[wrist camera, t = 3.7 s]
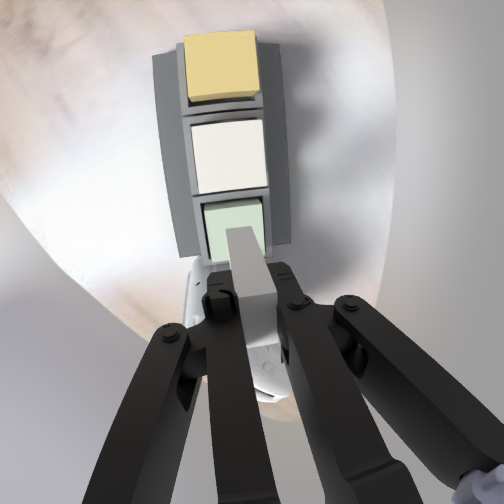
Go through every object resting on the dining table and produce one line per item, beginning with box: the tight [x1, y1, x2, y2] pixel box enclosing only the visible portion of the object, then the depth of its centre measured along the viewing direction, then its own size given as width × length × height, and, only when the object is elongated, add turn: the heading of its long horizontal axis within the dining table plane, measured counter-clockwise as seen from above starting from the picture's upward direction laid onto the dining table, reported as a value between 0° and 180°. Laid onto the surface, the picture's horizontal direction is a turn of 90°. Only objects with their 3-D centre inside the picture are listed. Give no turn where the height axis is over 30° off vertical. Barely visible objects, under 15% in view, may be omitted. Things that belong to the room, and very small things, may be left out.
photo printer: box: [182, 255, 292, 402], centre depth 22 cm, size 10×4×12 cm, turn 38°
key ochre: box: [184, 30, 260, 102], centre depth 14 cm, size 4×4×3 cm
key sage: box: [204, 196, 265, 262], centre depth 21 cm, size 4×4×3 cm
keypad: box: [152, 37, 291, 266], centre depth 20 cm, size 18×10×4 cm, turn 5°
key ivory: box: [191, 120, 267, 194], centre depth 16 cm, size 4×4×3 cm
